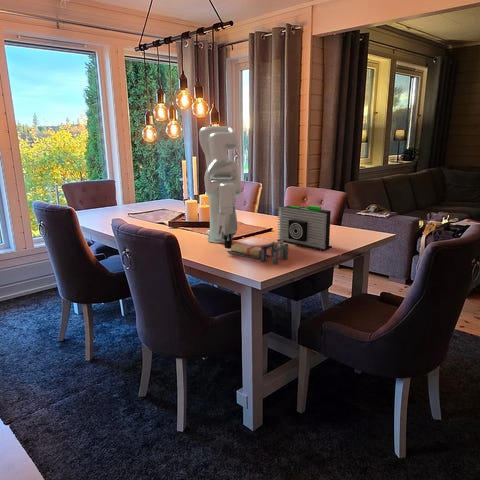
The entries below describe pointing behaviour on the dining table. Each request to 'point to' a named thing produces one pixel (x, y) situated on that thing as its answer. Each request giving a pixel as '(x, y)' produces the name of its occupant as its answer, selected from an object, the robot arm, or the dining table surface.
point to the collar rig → (275, 251)
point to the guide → (246, 255)
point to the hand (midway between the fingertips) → (228, 248)
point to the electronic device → (305, 226)
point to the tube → (246, 250)
